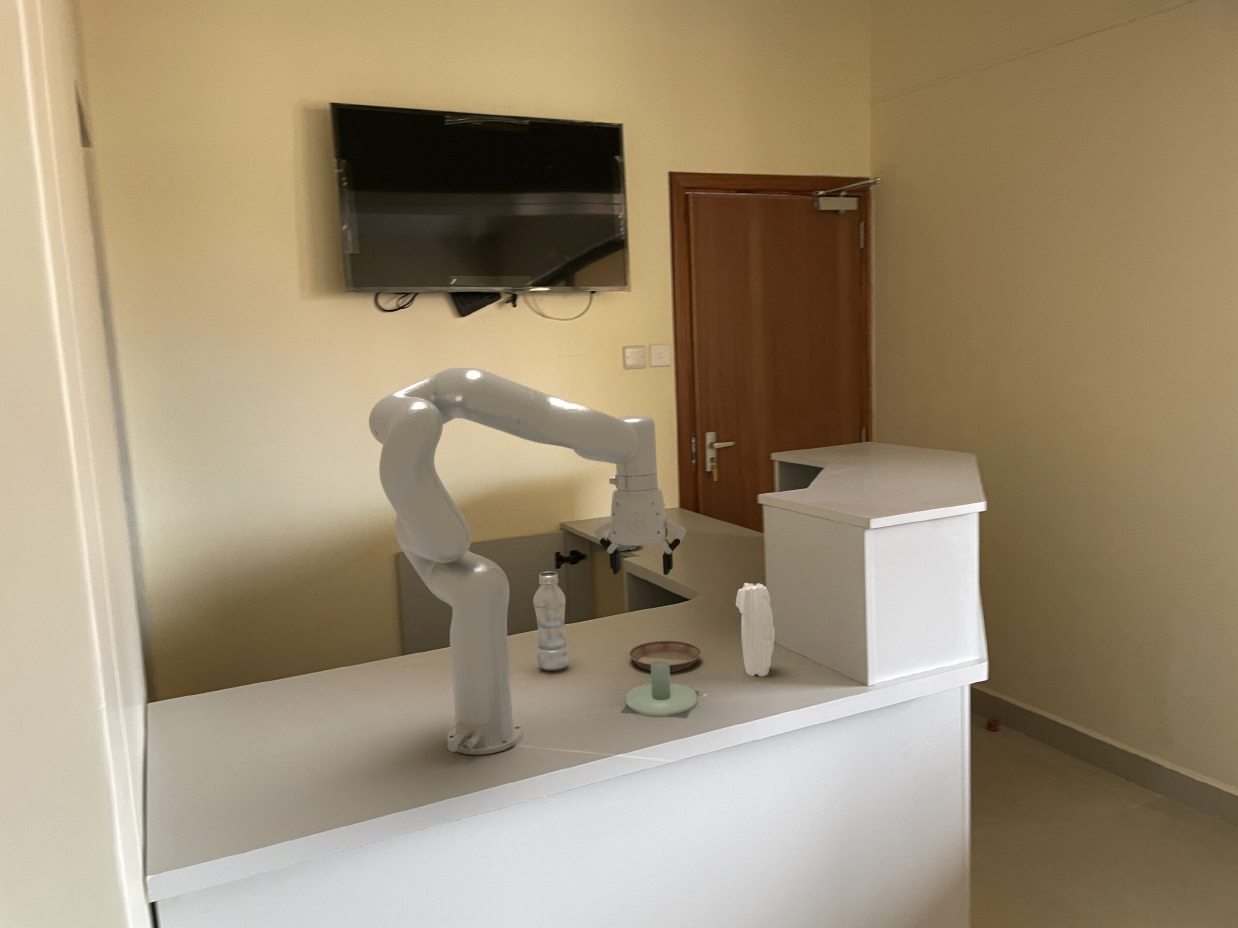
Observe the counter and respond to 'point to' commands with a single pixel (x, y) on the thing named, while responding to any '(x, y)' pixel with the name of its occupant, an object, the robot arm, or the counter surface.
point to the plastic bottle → (550, 623)
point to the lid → (661, 695)
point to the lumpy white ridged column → (756, 628)
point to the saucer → (666, 653)
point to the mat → (682, 715)
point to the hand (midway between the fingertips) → (641, 572)
